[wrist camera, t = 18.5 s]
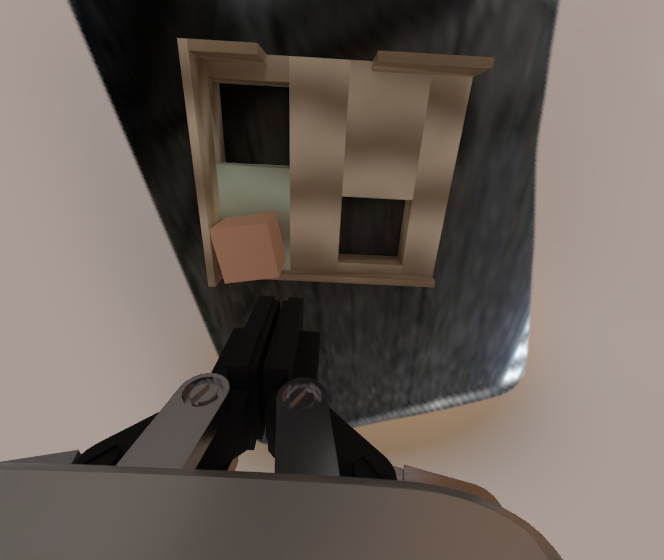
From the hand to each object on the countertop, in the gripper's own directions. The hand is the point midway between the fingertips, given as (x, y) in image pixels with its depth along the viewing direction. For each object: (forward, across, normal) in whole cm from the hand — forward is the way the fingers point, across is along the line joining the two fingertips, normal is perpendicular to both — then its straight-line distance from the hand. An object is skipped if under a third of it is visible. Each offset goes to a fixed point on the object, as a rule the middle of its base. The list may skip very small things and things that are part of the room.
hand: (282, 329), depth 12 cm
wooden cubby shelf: (+19, -1, -3) cm, 19 cm away
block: (+16, +5, +2) cm, 17 cm away
